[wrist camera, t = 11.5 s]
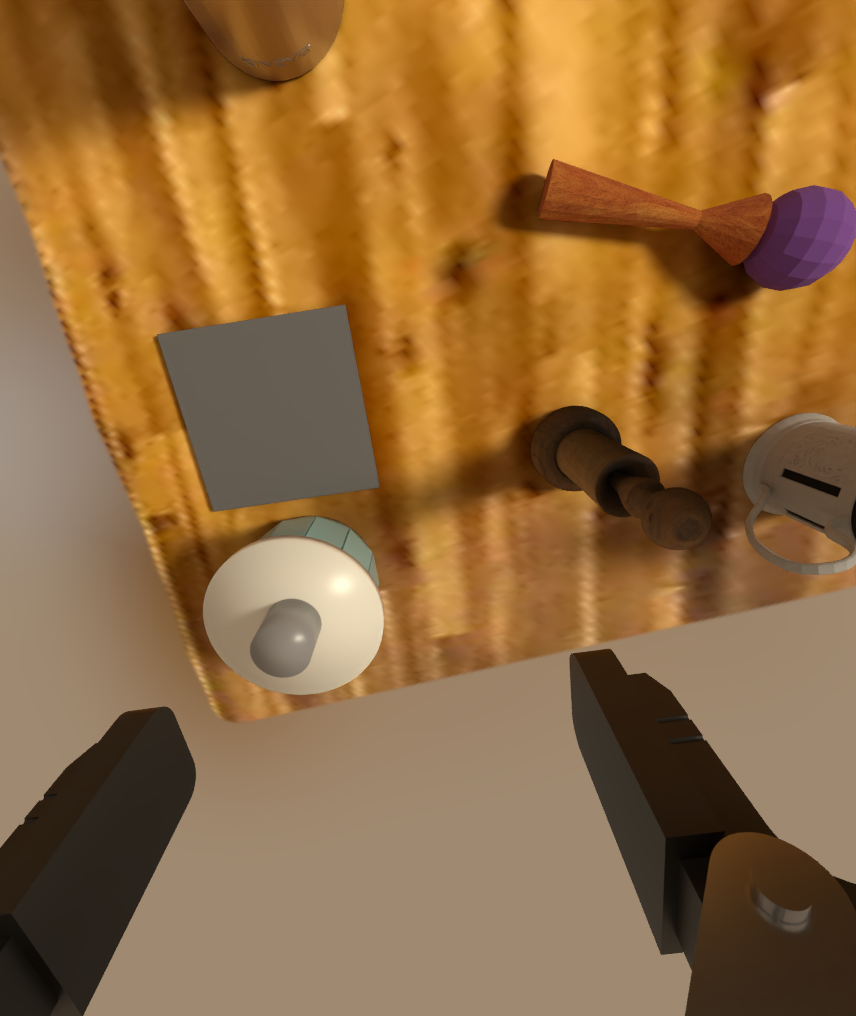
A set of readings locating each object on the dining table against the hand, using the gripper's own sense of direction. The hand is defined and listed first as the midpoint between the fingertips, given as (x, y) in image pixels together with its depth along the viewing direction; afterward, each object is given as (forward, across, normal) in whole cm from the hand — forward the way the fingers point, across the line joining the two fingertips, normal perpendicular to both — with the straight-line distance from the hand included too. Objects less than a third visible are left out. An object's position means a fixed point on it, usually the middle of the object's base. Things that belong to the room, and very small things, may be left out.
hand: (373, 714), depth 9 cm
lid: (+23, +10, +11) cm, 27 cm away
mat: (+30, +10, -3) cm, 32 cm away
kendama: (+31, -21, -12) cm, 39 cm away
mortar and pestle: (+30, -13, +3) cm, 33 cm away
